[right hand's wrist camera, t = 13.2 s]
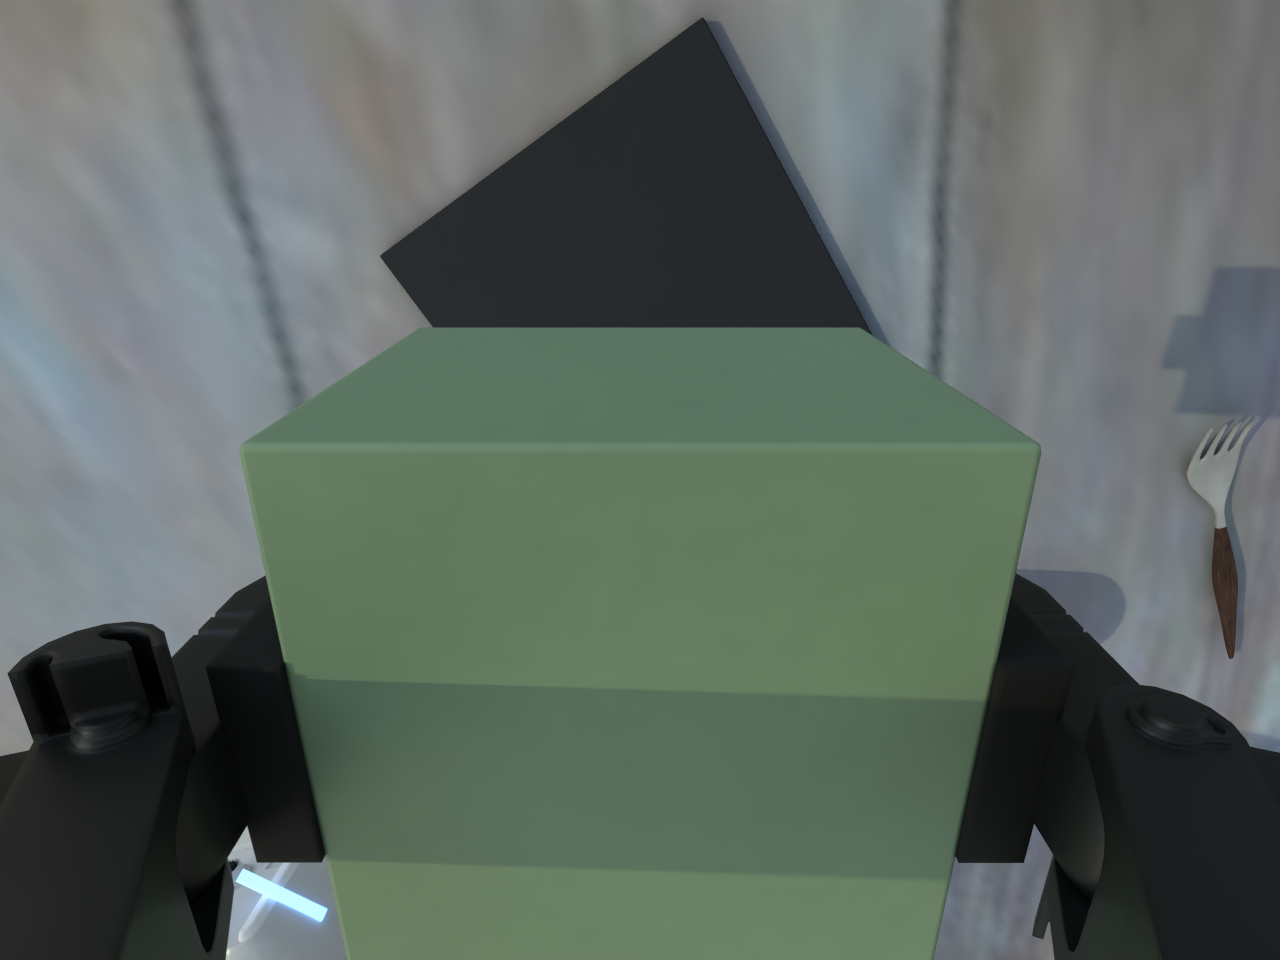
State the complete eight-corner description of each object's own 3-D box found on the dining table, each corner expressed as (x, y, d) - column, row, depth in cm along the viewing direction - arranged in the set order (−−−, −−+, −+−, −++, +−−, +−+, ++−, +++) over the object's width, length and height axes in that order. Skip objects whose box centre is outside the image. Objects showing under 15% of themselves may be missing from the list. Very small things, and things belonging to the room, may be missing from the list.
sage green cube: (862, 326, 12) (1047, 443, 7) (822, 693, 15) (929, 991, 9) (417, 326, 12) (233, 443, 7) (457, 692, 15) (350, 991, 9)
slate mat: (702, 19, 32) (703, 16, 32) (885, 363, 38) (888, 365, 37) (383, 254, 36) (379, 255, 35) (593, 535, 41) (592, 540, 41)
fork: (1201, 659, 44) (1226, 680, 42) (1179, 418, 39) (1207, 430, 37) (1247, 647, 44) (1274, 667, 42) (1231, 402, 38) (1262, 413, 36)
